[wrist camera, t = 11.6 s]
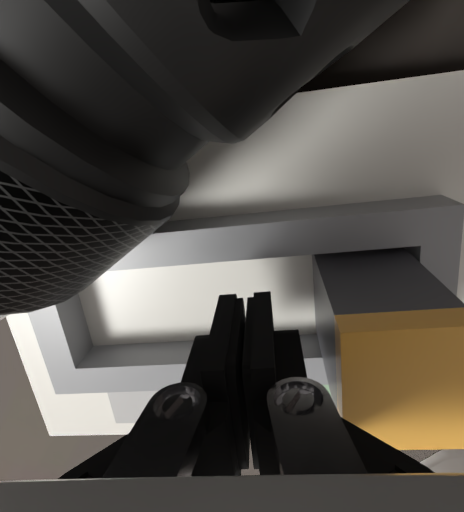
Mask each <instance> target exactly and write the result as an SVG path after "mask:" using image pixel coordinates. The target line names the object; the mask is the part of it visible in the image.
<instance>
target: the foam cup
mask: <svg viewBox="0 0 464 512" xmlns="http://www.w3.org/2000/svg"><path fill="white" fill-rule="evenodd" d="M420 463H421V464H423V465H425V466H426V467H428V468H429V469H431V470H432V471H433V472H435V473H464V449H444V450H440V451H439V452H437V453H435V454H433V455H431V456H430V457H428V458H426V459H424V460H423V461H421V462H420Z"/></svg>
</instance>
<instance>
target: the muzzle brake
mask: <svg viewBox="0 0 464 512" xmlns="http://www.w3.org/2000/svg"><path fill="white" fill-rule="evenodd" d="M409 1H410V0H0V320H1V319H3V318H5V317H6V316H8V315H10V314H19V313H30V312H33V311H37V310H40V309H43V308H46V307H50V306H53V305H56V304H59V303H62V302H65V301H67V300H68V299H70V298H71V297H73V296H75V295H76V294H78V293H79V292H81V291H83V290H84V289H86V288H87V287H88V286H89V285H90V284H92V283H93V282H94V281H95V280H96V279H98V278H99V277H100V276H101V275H102V274H104V273H105V272H106V271H107V270H108V269H110V268H111V267H112V266H113V265H114V264H116V263H117V262H118V261H119V260H121V259H122V258H123V257H124V256H125V255H127V254H128V253H129V252H130V251H131V250H133V249H134V248H135V247H136V246H137V245H139V244H140V243H141V242H142V241H143V240H145V239H146V238H147V237H148V236H149V235H151V234H152V233H153V232H154V231H155V230H157V229H158V228H159V227H160V226H162V225H163V224H164V223H165V222H166V221H168V220H169V219H170V218H171V216H172V215H173V214H174V212H175V211H176V209H177V207H178V206H179V203H180V196H181V195H182V194H183V193H184V192H185V190H186V189H187V187H188V186H189V176H190V173H189V169H188V165H187V161H188V160H189V159H190V158H191V157H192V156H194V155H195V154H196V153H197V152H198V151H199V150H200V149H201V148H202V147H204V146H205V145H206V144H207V143H208V142H218V143H227V144H234V143H238V142H241V141H244V140H245V139H246V138H248V137H249V136H250V135H251V134H252V133H254V132H255V131H256V130H257V129H258V128H259V127H261V126H262V125H263V124H264V123H265V122H267V121H268V120H269V119H270V118H271V117H272V116H273V115H274V114H275V113H276V112H277V111H278V110H279V109H280V108H281V107H282V106H283V105H284V104H285V103H287V102H288V101H289V100H290V99H291V98H292V97H293V96H294V95H295V94H296V93H297V92H298V90H299V89H300V88H301V87H302V86H303V85H305V84H306V83H307V82H309V81H310V80H312V79H314V78H315V77H316V76H318V75H319V74H320V73H321V72H323V71H324V70H325V69H327V68H328V67H329V66H331V65H332V64H333V63H334V62H336V61H337V60H338V59H340V58H341V57H342V56H344V55H345V54H346V53H348V52H349V51H350V50H352V49H353V48H354V47H355V46H356V45H358V44H359V43H360V42H361V41H362V40H364V39H365V38H366V37H367V36H368V35H370V34H371V33H372V32H373V31H374V30H375V29H377V28H378V27H379V26H380V25H381V24H383V23H384V22H385V21H386V20H387V19H388V18H390V17H391V16H392V15H393V14H394V13H396V12H397V11H398V10H399V9H400V8H401V7H403V6H404V5H405V4H406V3H407V2H409Z"/></svg>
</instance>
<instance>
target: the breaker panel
mask: <svg viewBox="0 0 464 512" xmlns="http://www.w3.org/2000/svg"><path fill="white" fill-rule="evenodd" d="M187 165H188V169H189V173H190V176H189V186H188V187H187V189H186V190H185V192H184V193H183V194H182V195H181V196H180V203H179V206H178V207H177V209H176V211H175V212H174V214H173V215H172V216H171V218H170V219H169V220H168V221H166V222H165V223H164V224H163V225H162V226H160V227H159V228H158V229H157V230H155V231H154V232H153V233H152V234H151V235H149V236H148V237H147V238H146V239H145V240H143V241H142V242H141V243H140V244H139V245H137V246H136V247H135V248H134V249H133V250H131V251H130V252H129V253H128V254H127V255H125V256H124V257H123V258H122V259H121V260H119V261H118V262H117V263H116V264H114V265H113V266H112V267H111V268H110V269H108V270H107V271H106V272H105V273H104V274H102V275H101V276H100V277H99V278H98V279H96V280H95V281H94V282H93V283H92V284H90V285H89V286H88V287H87V288H86V289H84V290H83V291H81V292H79V293H78V294H76V295H75V296H73V297H71V298H70V299H68V300H67V301H65V302H62V303H59V304H56V305H53V306H50V307H46V308H43V309H40V310H37V311H33V312H30V313H19V314H10V315H8V316H6V318H7V321H8V324H9V326H10V329H11V332H12V335H13V337H14V340H15V343H16V345H17V348H18V351H19V354H20V356H21V359H22V362H23V365H24V367H25V370H26V373H27V375H28V378H29V381H30V384H31V386H32V389H33V392H34V394H35V397H36V400H37V403H38V405H39V408H40V411H41V413H42V416H43V419H44V422H45V424H46V427H47V430H48V433H49V435H50V436H71V435H121V434H129V433H130V431H131V429H132V428H133V426H134V425H135V423H136V421H137V420H138V418H139V416H140V415H141V413H142V411H143V410H144V408H145V407H146V405H147V403H148V402H149V400H150V399H151V398H152V396H153V395H154V394H155V393H156V392H158V391H159V390H160V389H162V388H164V387H166V386H168V385H171V384H175V383H180V382H181V379H182V376H183V373H184V370H185V367H186V364H187V361H188V357H189V354H190V351H191V348H192V345H193V342H194V338H195V336H197V335H209V334H210V330H211V326H212V322H213V318H214V314H215V310H216V306H217V302H218V298H219V295H226V294H236V295H237V298H243V300H244V308H245V316H246V309H247V298H248V297H254V292H267V291H270V292H271V302H272V313H273V324H274V331H279V330H295V329H298V330H299V335H300V340H301V346H302V351H303V357H304V362H305V368H306V373H307V378H310V379H312V380H315V381H317V382H319V383H320V384H322V385H323V386H324V387H325V388H326V389H327V391H328V392H329V394H330V396H331V393H330V389H329V385H328V380H327V376H326V371H325V367H324V362H323V358H322V354H321V349H320V345H319V340H318V336H317V332H316V322H315V303H314V284H313V265H312V255H314V254H326V253H338V252H351V251H363V250H375V249H388V248H400V247H404V248H405V249H406V250H407V251H408V252H409V253H410V254H411V255H413V256H414V257H415V258H416V259H417V260H418V261H419V262H420V263H421V264H422V265H423V266H424V267H425V268H426V269H428V270H429V271H430V272H431V273H432V274H433V275H434V276H435V277H436V278H437V279H438V280H439V281H440V282H442V283H443V284H444V285H445V286H446V287H447V288H448V289H449V290H450V291H451V292H452V293H453V294H454V295H455V296H457V297H458V298H459V299H460V300H461V301H462V302H463V303H464V70H461V71H453V72H446V73H439V74H432V75H424V76H417V77H410V78H403V79H395V80H388V81H381V82H373V83H366V84H359V85H352V86H344V87H337V88H330V89H323V90H315V91H308V92H301V93H296V94H295V95H294V96H293V97H292V98H291V99H290V100H289V101H288V102H287V103H285V104H284V105H283V106H282V107H281V108H280V109H279V110H278V111H277V112H276V113H275V114H274V115H273V116H272V117H271V118H270V119H269V120H268V121H267V122H265V123H264V124H263V125H262V126H261V127H259V128H258V129H257V130H256V131H255V132H254V133H252V134H251V135H250V136H249V137H248V138H246V139H245V140H244V141H241V142H238V143H234V144H227V143H218V142H208V143H207V144H206V145H205V146H204V147H202V148H201V149H200V150H199V151H198V152H197V153H196V154H195V155H194V156H192V157H191V158H190V159H189V160H188V161H187Z"/></svg>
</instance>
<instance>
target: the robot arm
mask: <svg viewBox="0 0 464 512" xmlns="http://www.w3.org/2000/svg"><path fill="white" fill-rule="evenodd" d="M250 441H251V449H252V457H253V465H254V469H259V471H260V475H246V476H241V469H248V468H249V447H250ZM0 512H464V473H435V472H433V471H432V470H431V469H429V468H428V467H426V466H425V465H423V464H421V463H420V462H418V461H416V460H414V459H413V458H411V457H409V456H408V455H406V454H404V453H402V452H401V451H399V450H397V449H395V448H394V447H392V446H390V445H389V444H387V443H385V442H383V441H382V440H380V439H378V438H376V437H375V436H373V435H371V434H370V433H368V432H366V431H364V430H363V429H361V428H359V427H357V426H356V425H354V424H352V423H351V422H349V421H347V420H345V419H344V418H342V417H340V415H339V412H338V410H337V408H336V406H335V404H334V402H333V400H332V398H331V396H330V394H329V392H328V391H327V389H326V388H325V387H324V386H323V385H322V384H320V383H319V382H317V381H315V380H312V379H310V378H307V373H306V368H305V362H304V357H303V351H302V346H301V340H300V335H299V330H298V329H295V330H279V331H274V324H273V313H272V302H271V292H270V291H267V292H254V297H248V298H247V309H246V316H245V308H244V300H243V298H237V295H236V294H226V295H219V298H218V302H217V306H216V310H215V314H214V318H213V322H212V326H211V330H210V334H209V335H197V336H195V338H194V342H193V345H192V348H191V351H190V354H189V357H188V361H187V364H186V367H185V370H184V373H183V376H182V379H181V382H180V383H175V384H171V385H168V386H166V387H164V388H162V389H160V390H159V391H158V392H156V393H155V394H154V395H153V396H152V398H151V399H150V400H149V402H148V403H147V405H146V407H145V408H144V410H143V411H142V413H141V415H140V416H139V418H138V420H137V421H136V423H135V425H134V426H133V428H132V429H131V431H130V433H129V434H127V435H125V436H124V437H122V438H121V439H119V440H117V441H116V442H114V443H113V444H111V445H109V446H108V447H106V448H105V449H103V450H102V451H100V452H98V453H97V454H95V455H94V456H92V457H90V458H89V459H87V460H86V461H84V462H82V463H81V464H79V465H78V466H76V467H74V468H73V469H71V470H70V471H68V472H67V473H65V474H64V475H62V476H61V477H60V478H58V479H50V480H8V481H0Z"/></svg>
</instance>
